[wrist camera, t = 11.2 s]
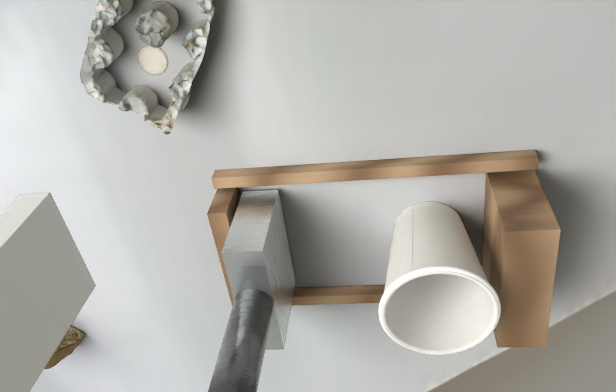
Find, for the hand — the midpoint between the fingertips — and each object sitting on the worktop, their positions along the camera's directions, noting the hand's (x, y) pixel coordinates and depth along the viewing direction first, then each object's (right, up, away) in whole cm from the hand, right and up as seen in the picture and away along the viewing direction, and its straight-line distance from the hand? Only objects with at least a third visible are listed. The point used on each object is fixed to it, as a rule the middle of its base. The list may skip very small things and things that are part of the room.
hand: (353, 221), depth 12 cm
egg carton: (-12, +12, +30) cm, 35 cm away
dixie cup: (+9, -2, +37) cm, 38 cm away
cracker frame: (+5, -3, +37) cm, 38 cm away
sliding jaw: (-4, -3, +39) cm, 39 cm away
